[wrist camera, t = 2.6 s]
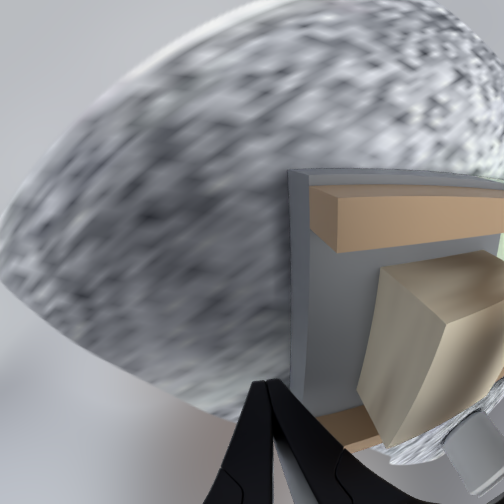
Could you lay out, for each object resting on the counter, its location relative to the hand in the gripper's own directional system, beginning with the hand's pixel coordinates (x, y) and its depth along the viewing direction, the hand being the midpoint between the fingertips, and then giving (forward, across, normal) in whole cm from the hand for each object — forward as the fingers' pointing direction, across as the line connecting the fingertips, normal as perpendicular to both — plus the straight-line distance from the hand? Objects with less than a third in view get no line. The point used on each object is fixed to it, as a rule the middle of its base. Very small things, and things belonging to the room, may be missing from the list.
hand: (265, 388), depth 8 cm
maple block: (+1, -7, 0) cm, 7 cm away
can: (+4, -26, +25) cm, 37 cm away
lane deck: (+4, -15, 0) cm, 15 cm away
